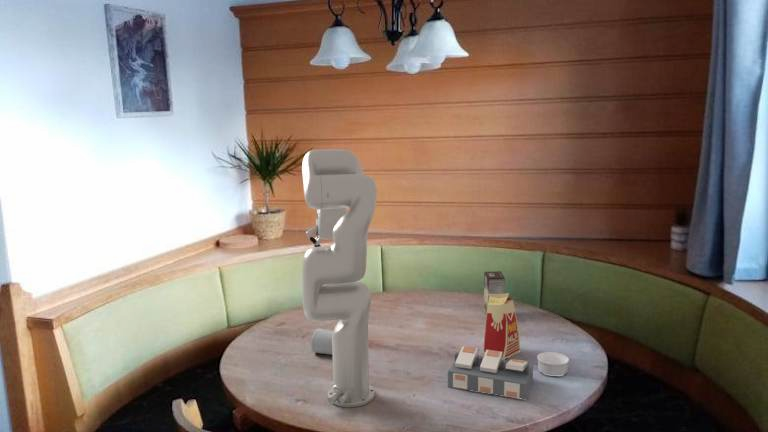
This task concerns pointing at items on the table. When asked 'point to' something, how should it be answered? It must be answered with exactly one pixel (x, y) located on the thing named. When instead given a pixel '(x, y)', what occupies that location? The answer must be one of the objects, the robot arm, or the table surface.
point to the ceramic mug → (322, 341)
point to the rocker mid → (491, 361)
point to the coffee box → (492, 286)
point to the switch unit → (492, 379)
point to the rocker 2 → (516, 364)
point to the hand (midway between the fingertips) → (332, 254)
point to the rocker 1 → (466, 357)
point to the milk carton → (501, 326)
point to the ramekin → (552, 363)
